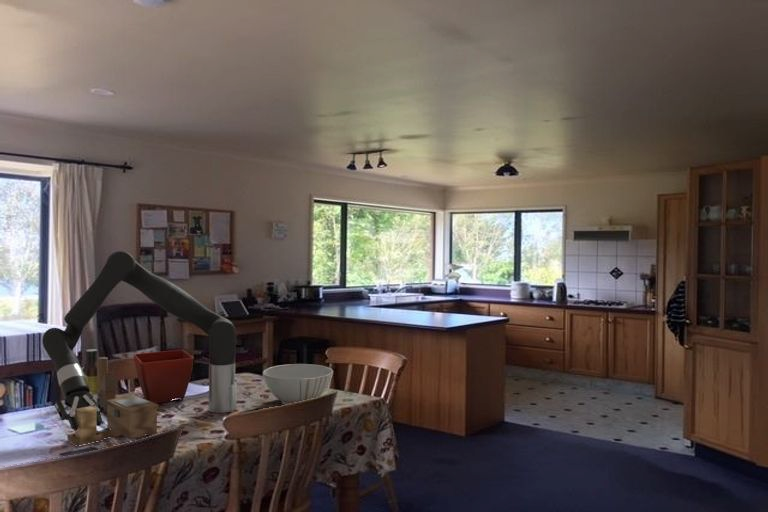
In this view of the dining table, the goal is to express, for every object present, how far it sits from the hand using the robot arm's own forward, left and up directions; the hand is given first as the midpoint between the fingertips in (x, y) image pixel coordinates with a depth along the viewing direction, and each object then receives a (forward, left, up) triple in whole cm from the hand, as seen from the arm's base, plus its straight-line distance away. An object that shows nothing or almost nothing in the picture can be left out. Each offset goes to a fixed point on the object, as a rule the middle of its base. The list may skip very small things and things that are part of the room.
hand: (88, 426), depth 188 cm
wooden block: (+12, -37, -5) cm, 39 cm away
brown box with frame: (-4, -7, -5) cm, 9 cm away
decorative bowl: (-57, -49, -5) cm, 75 cm away
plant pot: (-4, -51, -5) cm, 51 cm away
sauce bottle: (+21, -45, -5) cm, 50 cm away
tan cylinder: (+1, -1, -5) cm, 5 cm away
